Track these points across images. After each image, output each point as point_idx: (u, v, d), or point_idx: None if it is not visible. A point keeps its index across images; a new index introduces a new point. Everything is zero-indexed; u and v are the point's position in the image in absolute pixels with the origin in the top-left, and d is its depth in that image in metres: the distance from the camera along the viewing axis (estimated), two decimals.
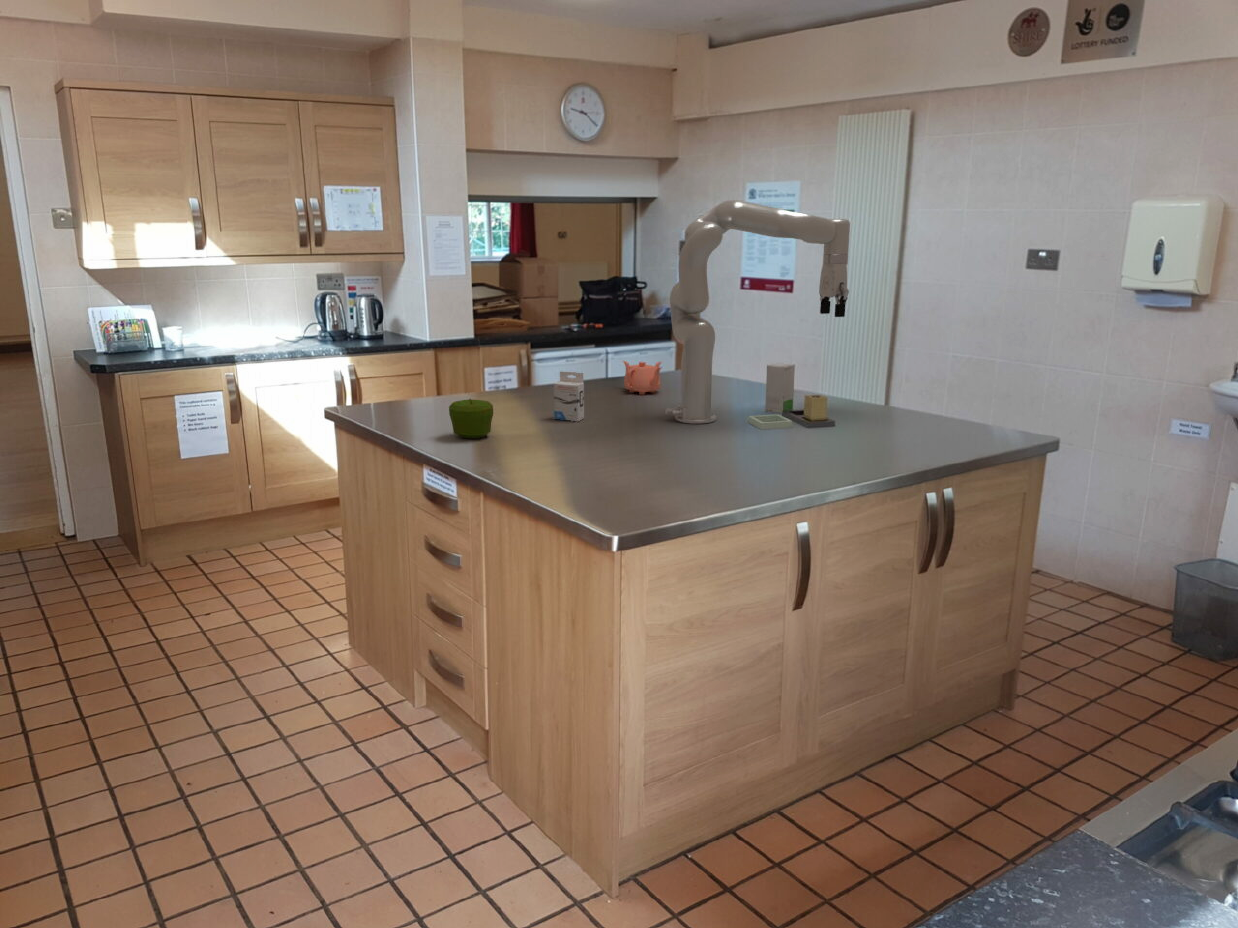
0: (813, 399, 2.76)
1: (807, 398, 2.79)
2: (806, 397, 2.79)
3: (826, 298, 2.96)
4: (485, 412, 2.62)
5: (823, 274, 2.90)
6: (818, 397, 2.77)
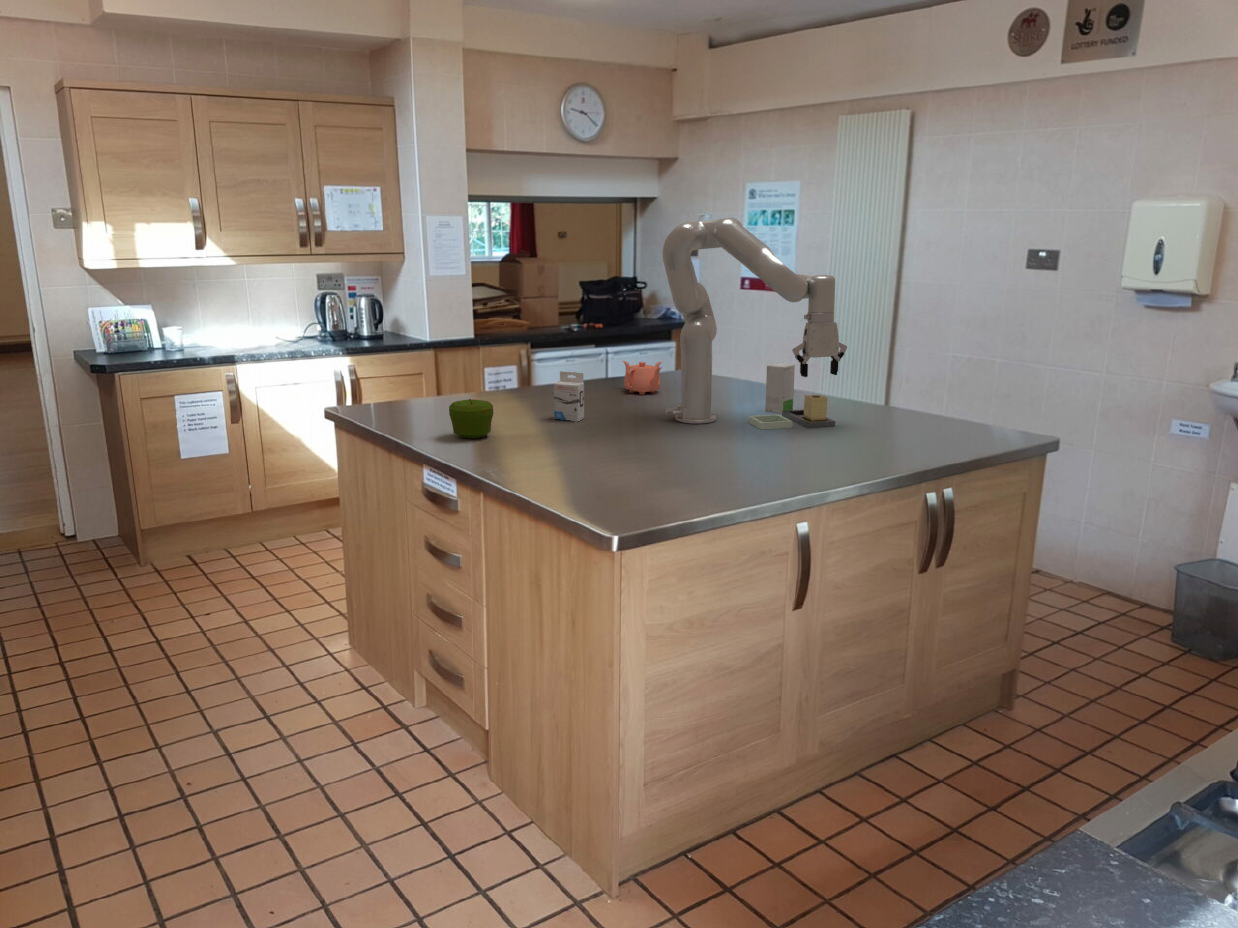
0: (813, 399, 2.76)
1: (807, 398, 2.79)
2: (806, 397, 2.79)
3: None
4: (485, 412, 2.62)
5: (818, 334, 2.70)
6: (818, 397, 2.77)
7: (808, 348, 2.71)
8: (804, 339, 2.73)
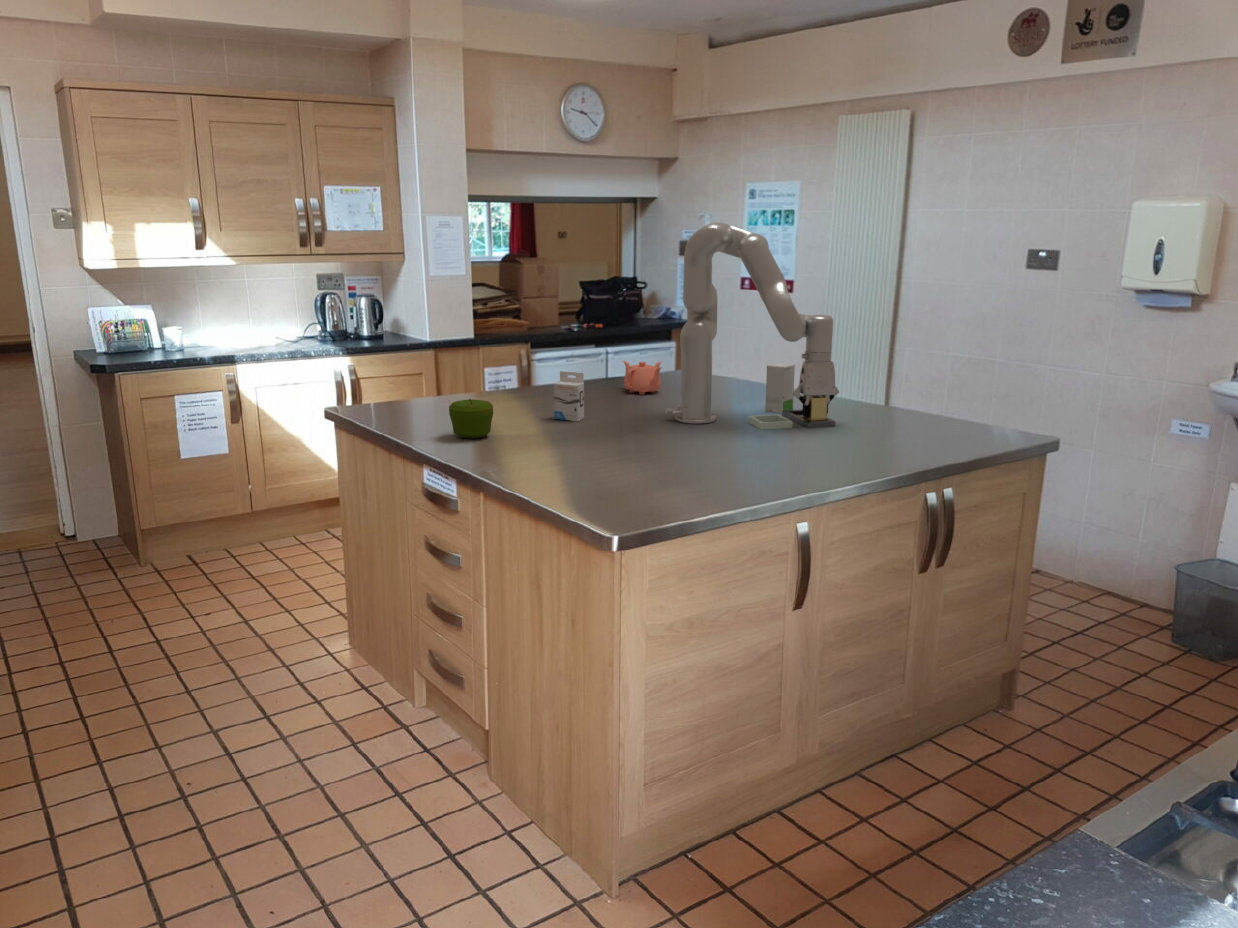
0: (813, 399, 2.76)
1: None
2: None
3: None
4: (485, 412, 2.62)
5: (814, 373, 2.74)
6: (818, 397, 2.77)
7: (805, 387, 2.74)
8: (801, 377, 2.76)
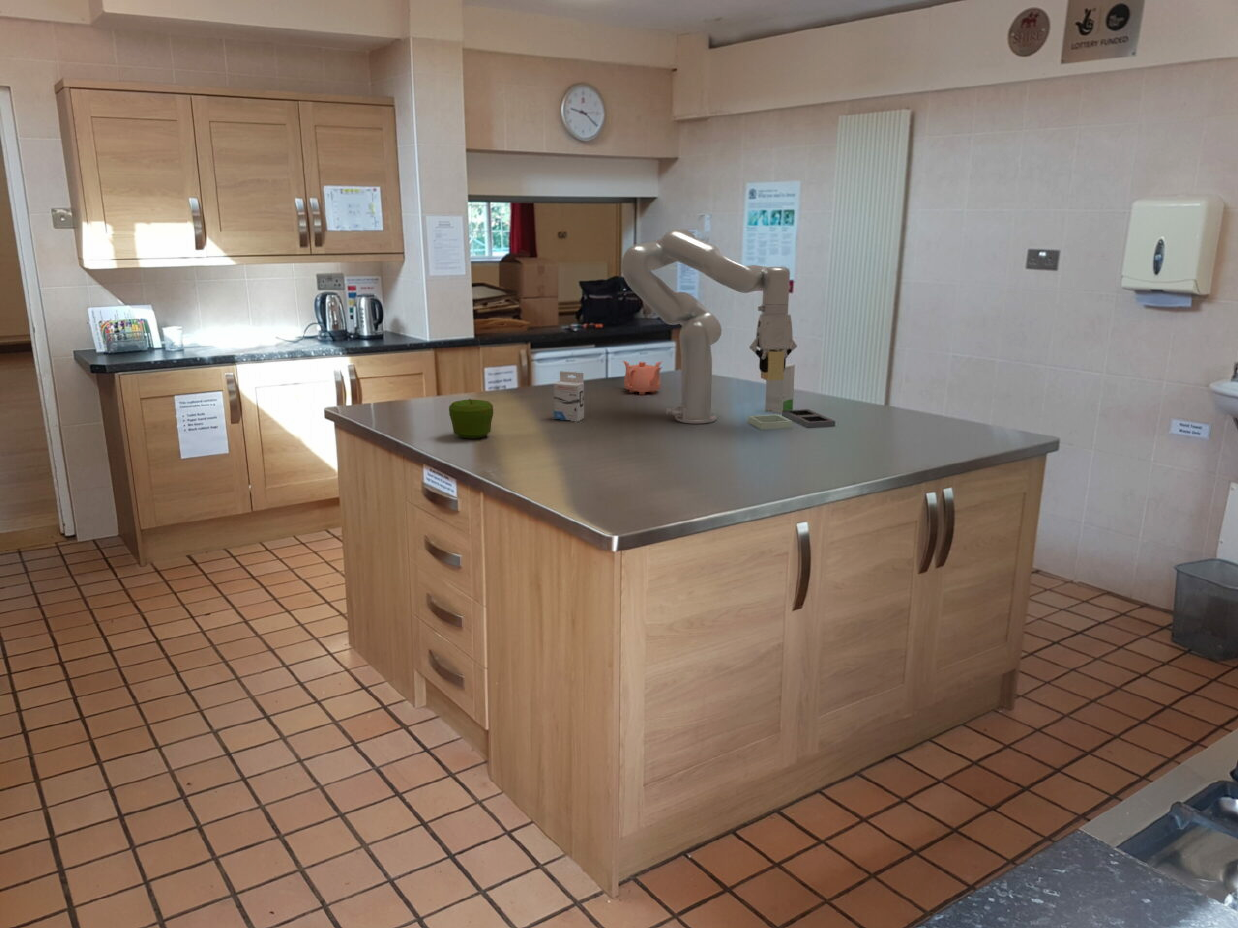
0: (770, 353, 2.71)
1: None
2: None
3: None
4: (485, 412, 2.62)
5: (771, 326, 2.69)
6: (775, 351, 2.72)
7: (761, 340, 2.70)
8: (758, 331, 2.71)
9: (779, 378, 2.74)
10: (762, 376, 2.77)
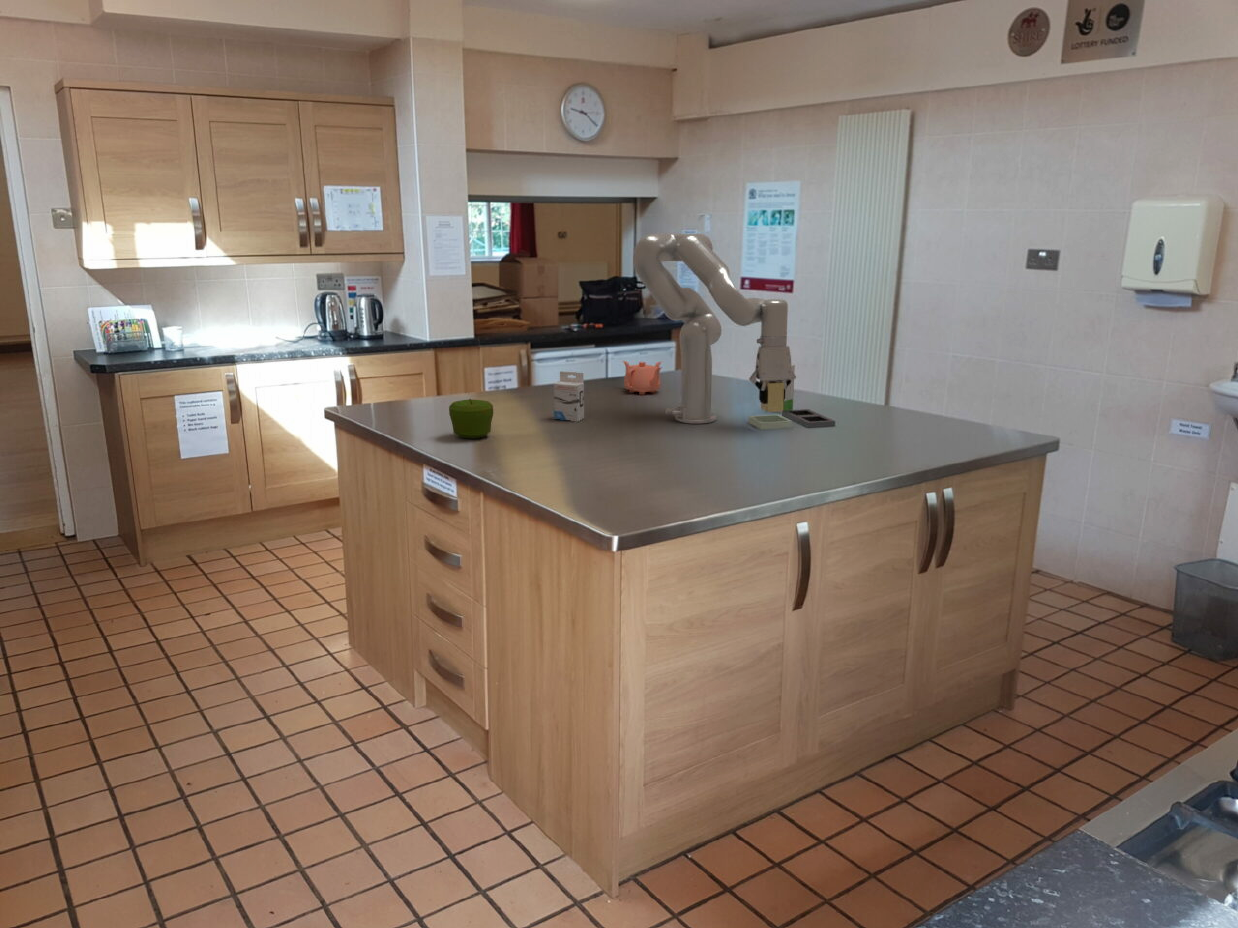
0: (769, 384, 2.73)
1: None
2: None
3: None
4: (485, 412, 2.62)
5: (770, 358, 2.71)
6: (774, 382, 2.75)
7: (760, 372, 2.72)
8: (757, 363, 2.74)
9: (779, 409, 2.76)
10: (762, 407, 2.79)
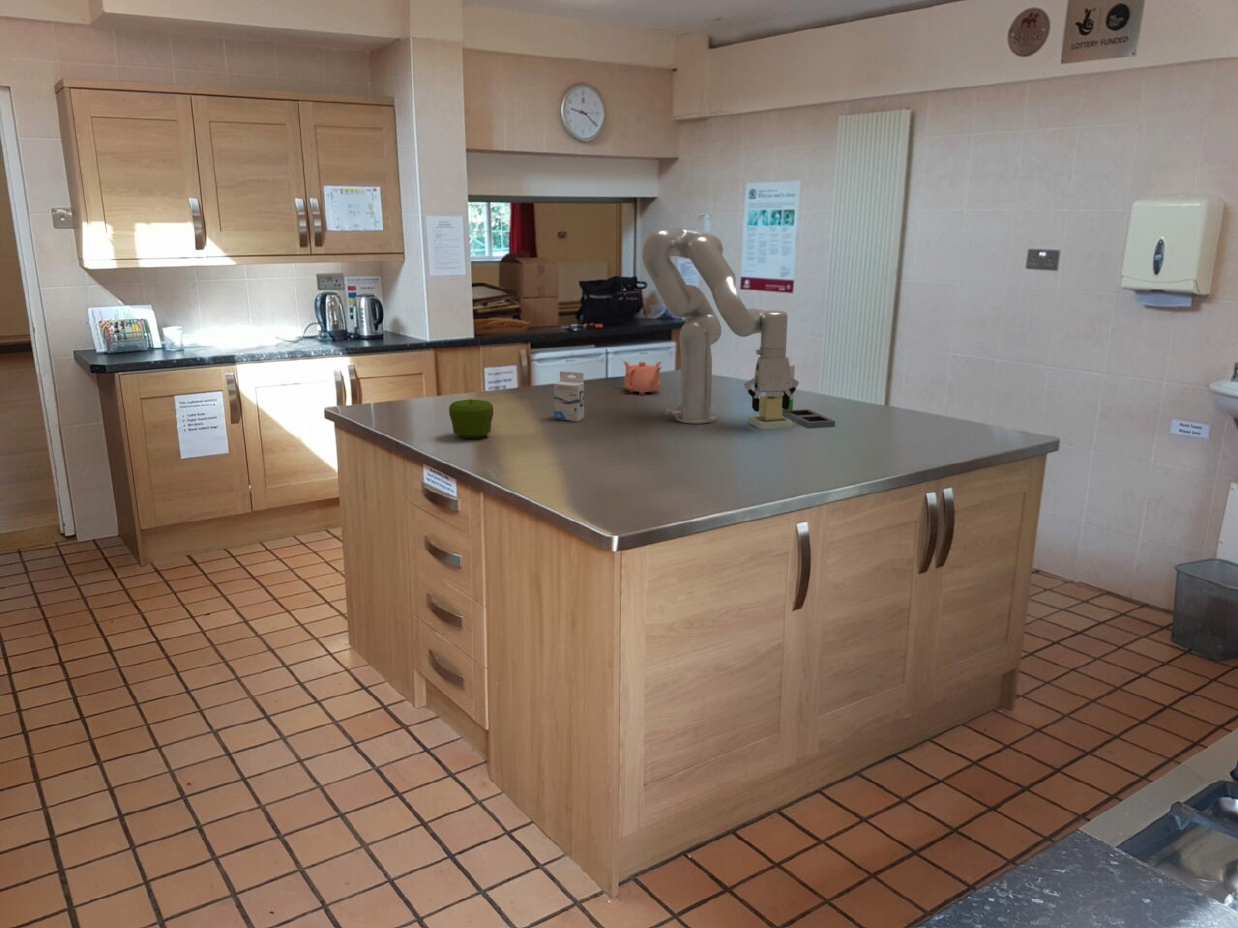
0: (767, 400, 2.75)
1: (762, 399, 2.78)
2: (761, 398, 2.78)
3: None
4: (485, 412, 2.62)
5: (769, 370, 2.72)
6: (773, 398, 2.76)
7: (759, 383, 2.73)
8: (756, 374, 2.75)
9: None
10: None
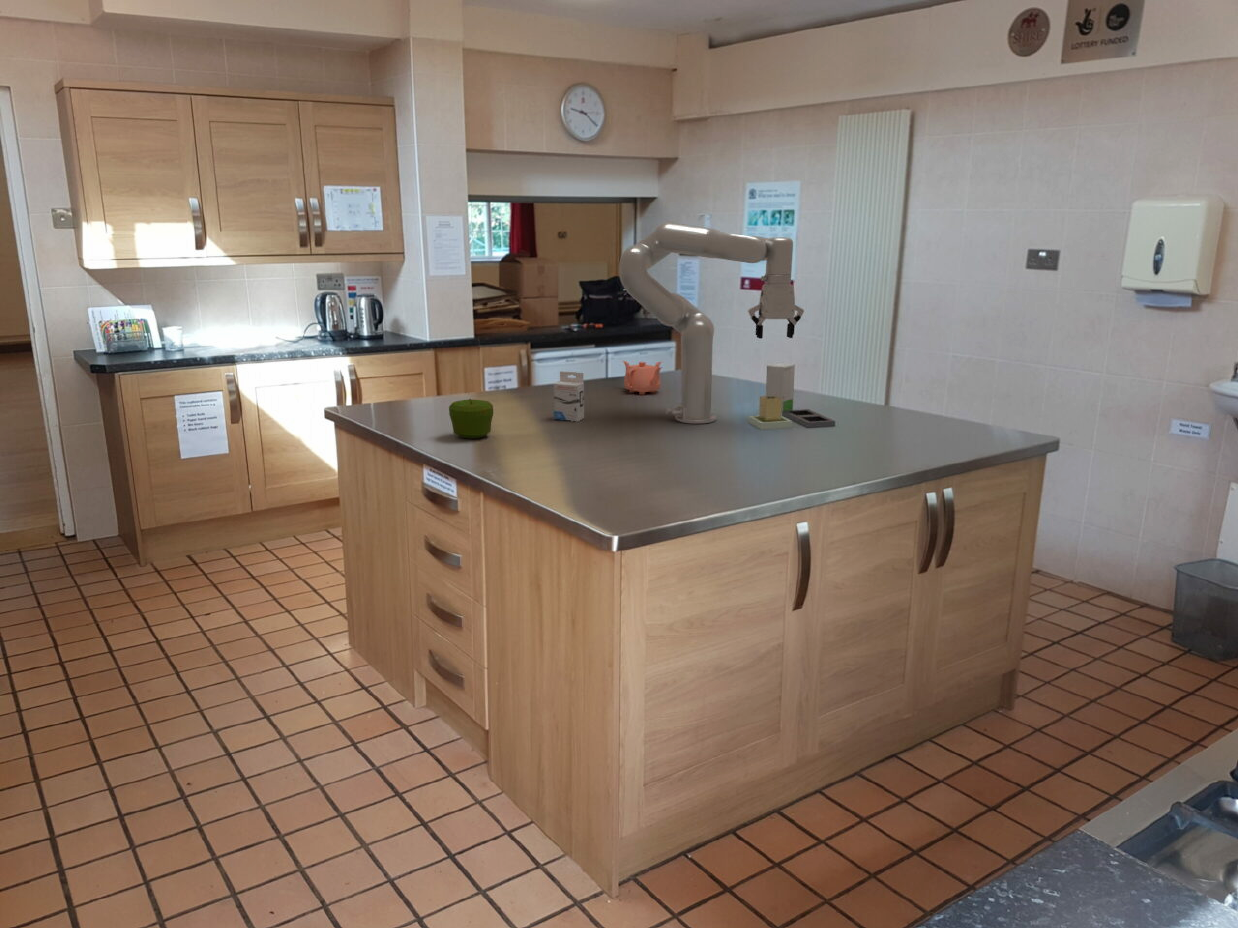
0: (767, 400, 2.75)
1: (762, 399, 2.78)
2: (761, 398, 2.78)
3: None
4: (485, 412, 2.62)
5: (773, 296, 2.73)
6: (773, 398, 2.76)
7: (763, 309, 2.74)
8: (760, 300, 2.76)
9: None
10: None
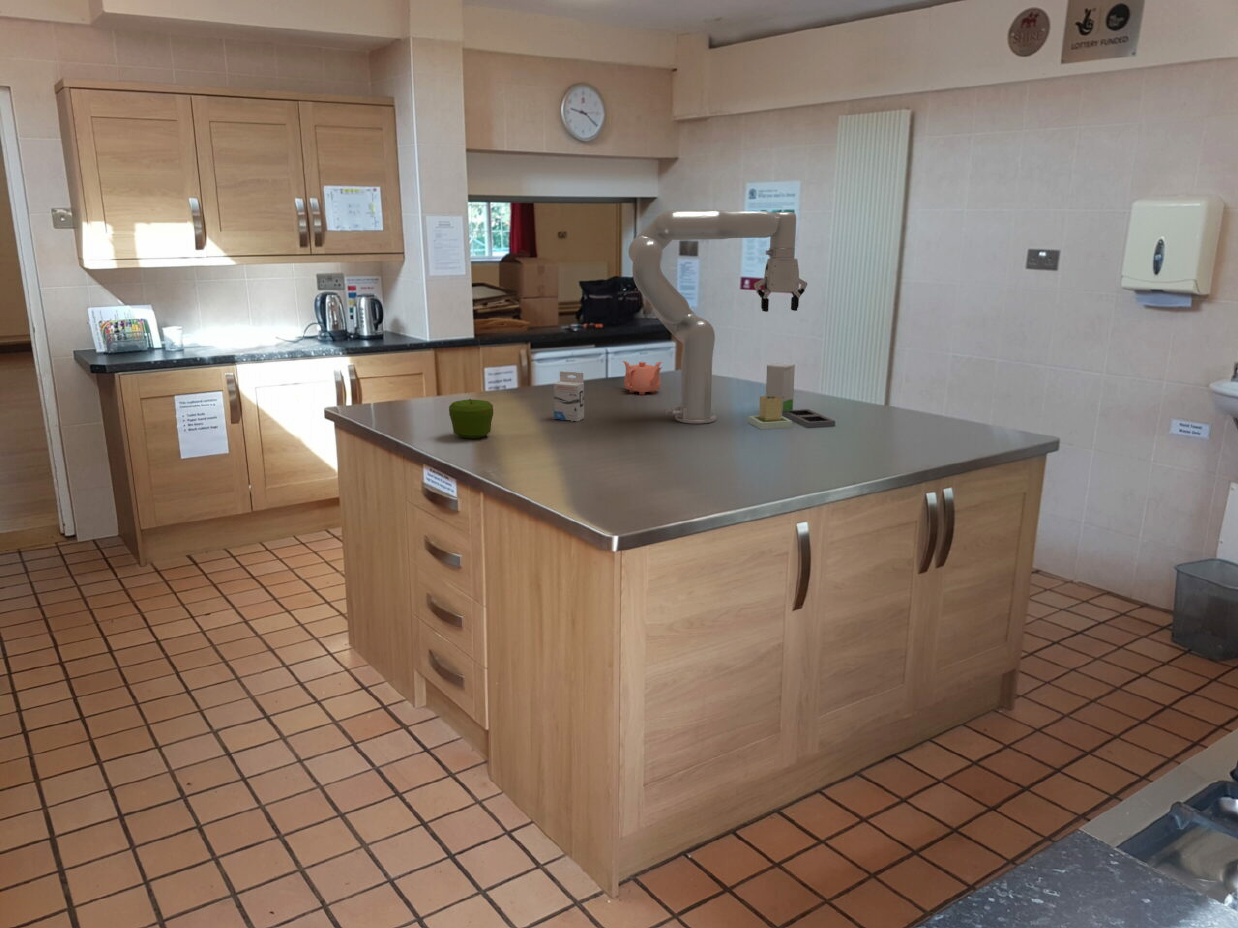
0: (767, 400, 2.75)
1: (762, 399, 2.78)
2: (761, 398, 2.78)
3: None
4: (485, 412, 2.62)
5: (778, 269, 2.79)
6: (773, 398, 2.76)
7: (769, 283, 2.80)
8: (765, 274, 2.81)
9: None
10: None
